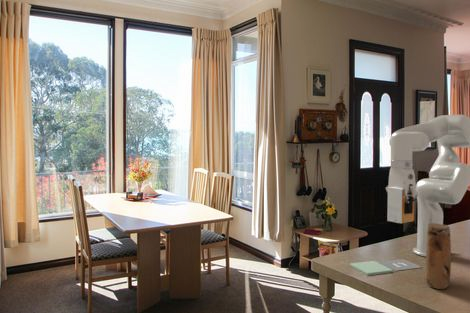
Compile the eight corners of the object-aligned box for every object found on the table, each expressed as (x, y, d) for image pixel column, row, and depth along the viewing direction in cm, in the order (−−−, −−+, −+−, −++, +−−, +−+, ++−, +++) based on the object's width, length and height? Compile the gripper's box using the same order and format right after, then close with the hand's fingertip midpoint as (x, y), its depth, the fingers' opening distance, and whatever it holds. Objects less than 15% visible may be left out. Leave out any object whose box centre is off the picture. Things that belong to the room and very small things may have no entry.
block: (425, 277, 137) (427, 221, 136) (450, 281, 133) (451, 223, 132) (424, 288, 127) (425, 227, 126) (450, 292, 124) (451, 230, 123)
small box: (401, 224, 144) (402, 189, 143) (386, 220, 150) (387, 187, 149) (414, 221, 149) (415, 187, 148) (399, 218, 154) (400, 185, 153)
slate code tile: (403, 259, 156) (403, 259, 156) (422, 267, 147) (422, 267, 147) (377, 262, 153) (377, 262, 153) (395, 271, 143) (395, 270, 143)
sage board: (373, 262, 153) (373, 260, 153) (393, 272, 142) (393, 269, 142) (349, 265, 150) (349, 263, 149) (367, 275, 139) (367, 273, 139)
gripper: (427, 166, 141) (426, 215, 142) (393, 163, 157) (393, 206, 158) (409, 167, 138) (409, 216, 139) (378, 163, 155) (377, 208, 156)
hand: (400, 211), depth 149 cm, fingers closed on small box, 7 cm apart
